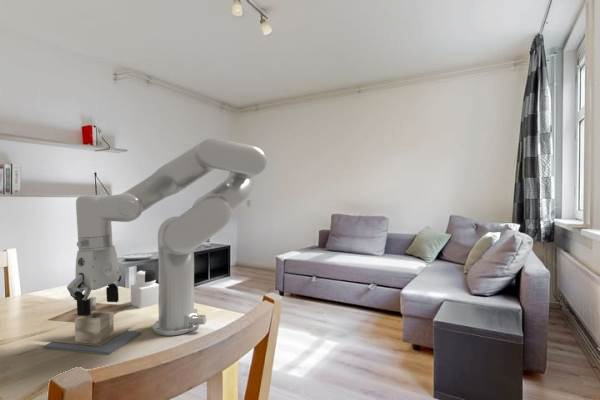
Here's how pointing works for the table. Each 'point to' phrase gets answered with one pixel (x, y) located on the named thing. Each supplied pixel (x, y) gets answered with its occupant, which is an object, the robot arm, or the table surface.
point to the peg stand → (94, 306)
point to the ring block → (94, 327)
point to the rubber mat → (102, 349)
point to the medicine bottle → (145, 289)
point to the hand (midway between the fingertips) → (99, 308)
